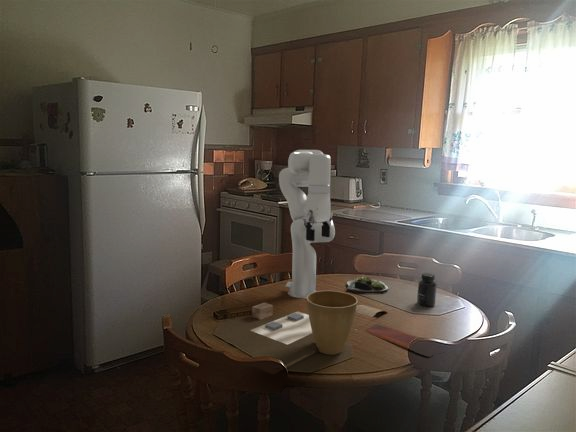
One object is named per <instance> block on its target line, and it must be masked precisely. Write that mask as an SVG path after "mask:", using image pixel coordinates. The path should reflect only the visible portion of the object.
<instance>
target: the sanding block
mask: <svg viewBox="0 0 576 432" xmlns="http://www.w3.org/2000/svg"><path fill="white" fill-rule="evenodd" d="M273 305H274V304H270V303H267V302H262V303H259V304H256V305H253V306H252V307H251V308H252V309H251V310H252V311H251V314H252V318H253V319H256V320H259V321H261V320H263V319H266V318H270V317H271V316H273V312H274V310H273V308H274V307H273Z"/></svg>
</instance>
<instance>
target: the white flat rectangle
mask: <svg viewBox="0 0 576 432" xmlns="http://www.w3.org/2000/svg"><path fill="white" fill-rule="evenodd" d="M294 313H297V314H300V315H303V316H304V319H301V320H299V321H297V322H296V321H293V320H290V319H287V316H288V315H291V314H294ZM288 315H287V314H286V315H285V316H282V317H280V318H278V319H274V320H273V321H274V322H277V323H280V324H282V328H280V329H278V330H275V331H273V330H270V329H268V328H265V325H266V324H268V323H271V322H273V321H270V322H267V323H265V324H262V325H260V326H258V327H255V328H252V329H250V330H249V331H250V332H253V333H255V334H258V335H261V336H263V337H265V338H268V339H271V340H274V341H276V342H279V343H282V344H284V345H290V344H292V343H294V342H297V341H298V340H301V339H303V338H305V337H307V336H309V335H311V334H312V335H313V333H312V329H311V324H310V319H309V314H307V313H304V312H300V311H296V312H293V313H290V314H288Z"/></svg>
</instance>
